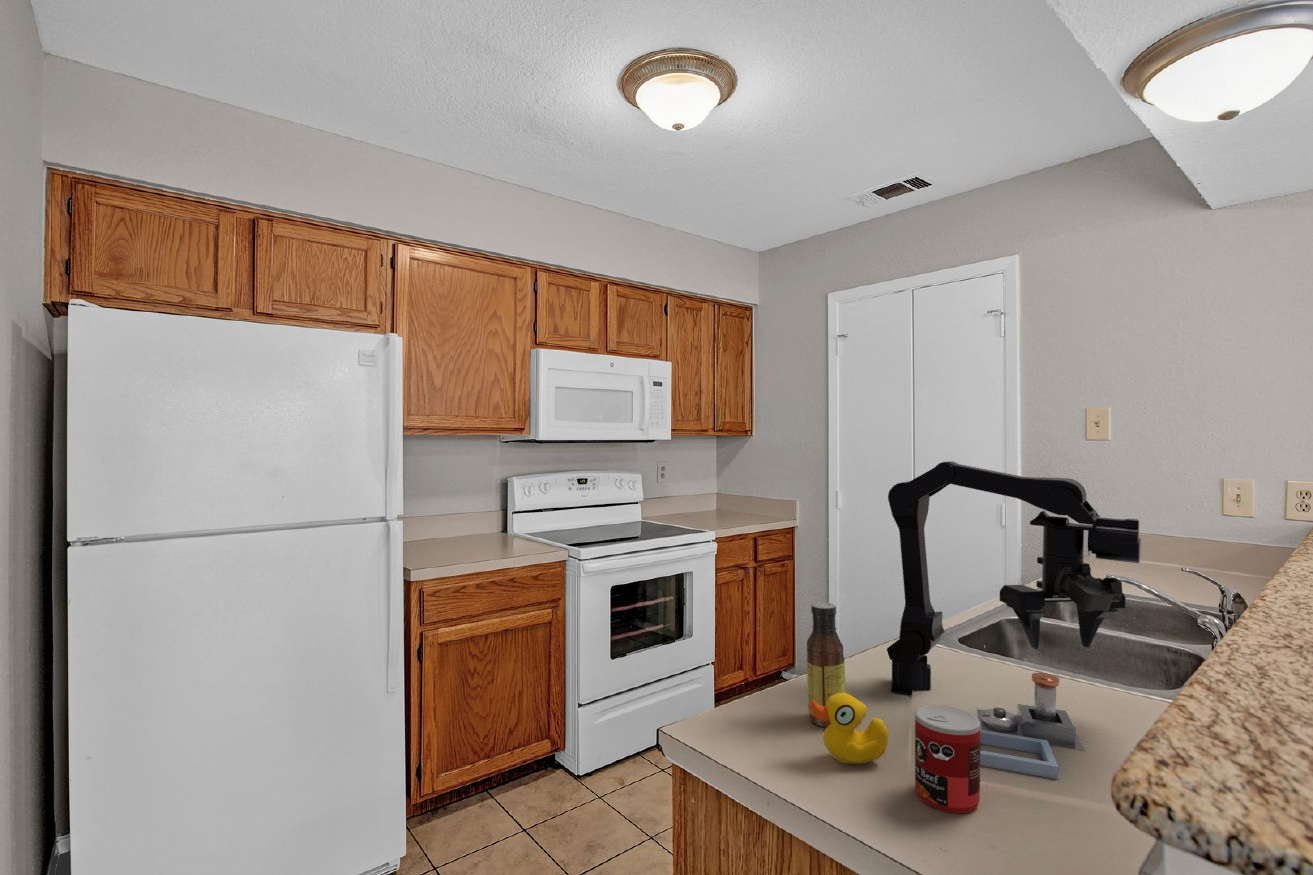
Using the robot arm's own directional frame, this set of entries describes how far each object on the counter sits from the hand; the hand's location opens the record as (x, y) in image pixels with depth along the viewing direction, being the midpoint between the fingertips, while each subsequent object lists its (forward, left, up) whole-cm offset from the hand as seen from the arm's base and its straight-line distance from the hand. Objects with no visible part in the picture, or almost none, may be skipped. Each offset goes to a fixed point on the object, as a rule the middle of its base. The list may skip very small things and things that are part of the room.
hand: (1060, 647), depth 106 cm
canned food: (-18, -30, -14) cm, 38 cm away
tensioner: (-5, -5, -13) cm, 15 cm away
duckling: (-31, -25, -14) cm, 42 cm away
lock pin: (-3, -5, -13) cm, 14 cm away
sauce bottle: (-36, -13, -14) cm, 41 cm away
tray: (-9, -16, -13) cm, 23 cm away
